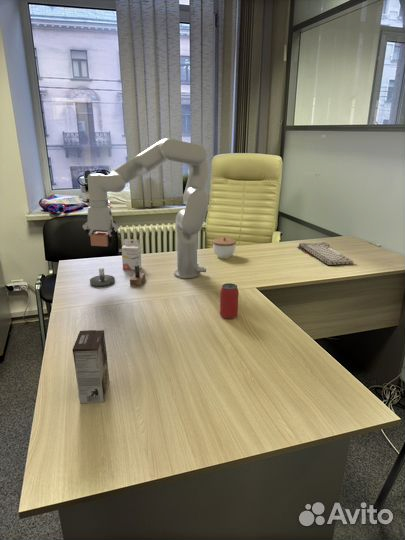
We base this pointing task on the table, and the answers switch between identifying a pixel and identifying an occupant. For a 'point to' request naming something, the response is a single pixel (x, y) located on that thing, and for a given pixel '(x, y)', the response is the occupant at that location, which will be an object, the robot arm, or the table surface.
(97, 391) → the coffee box
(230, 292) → the beer can
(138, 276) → the stand
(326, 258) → the mechanical keyboard
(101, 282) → the hub
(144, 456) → the table surface
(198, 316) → the table surface
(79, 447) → the table surface
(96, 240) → the collar
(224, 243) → the lidded bowl
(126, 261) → the ink cartridge box
